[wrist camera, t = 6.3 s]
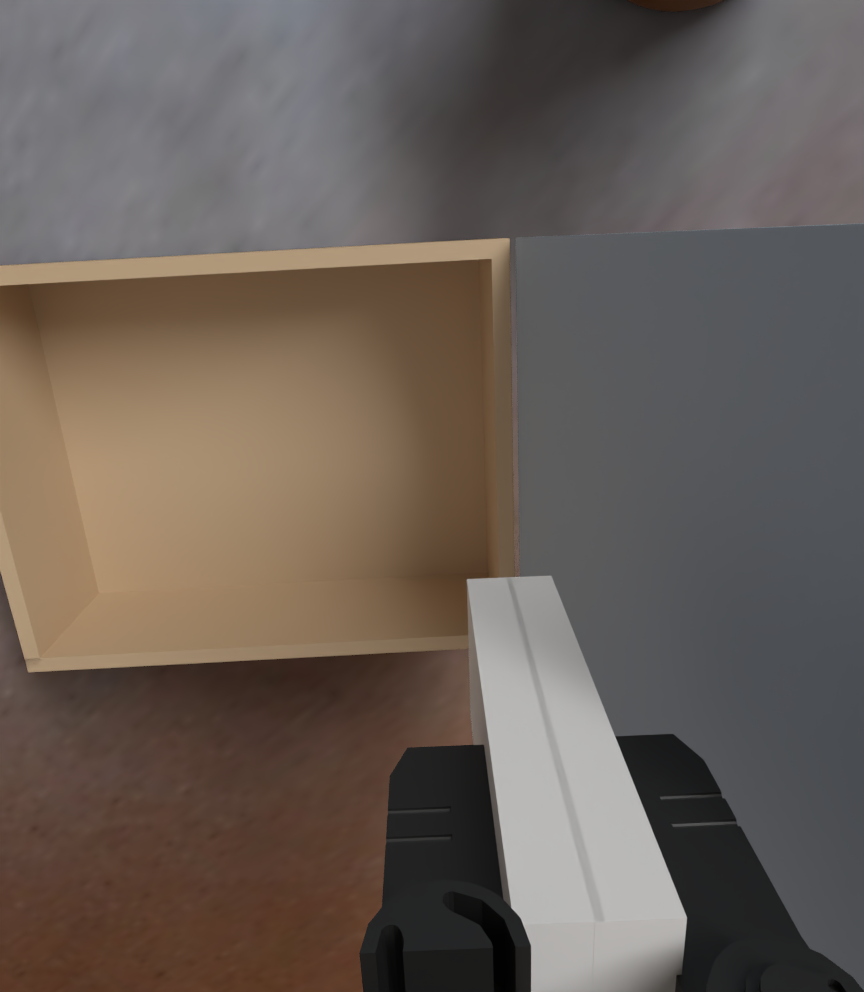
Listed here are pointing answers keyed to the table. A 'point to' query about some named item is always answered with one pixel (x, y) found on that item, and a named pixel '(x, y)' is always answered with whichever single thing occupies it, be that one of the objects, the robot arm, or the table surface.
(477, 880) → the robot arm
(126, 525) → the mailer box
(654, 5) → the mug
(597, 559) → the lid
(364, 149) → the table surface
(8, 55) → the table surface
